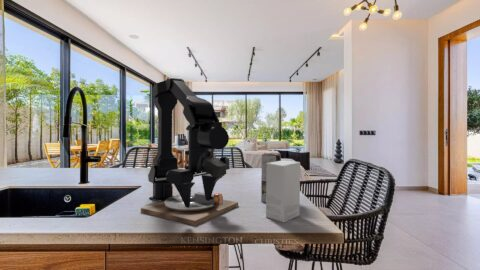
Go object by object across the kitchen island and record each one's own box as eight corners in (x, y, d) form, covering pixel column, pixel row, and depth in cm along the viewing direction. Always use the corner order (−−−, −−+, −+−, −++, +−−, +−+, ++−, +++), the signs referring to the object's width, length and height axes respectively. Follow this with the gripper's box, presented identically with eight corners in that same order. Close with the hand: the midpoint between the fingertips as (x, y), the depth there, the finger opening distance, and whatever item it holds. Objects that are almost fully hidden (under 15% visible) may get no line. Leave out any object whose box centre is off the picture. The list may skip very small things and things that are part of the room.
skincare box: (282, 211, 82) (283, 159, 81) (301, 216, 77) (302, 161, 77) (264, 217, 76) (265, 162, 75) (283, 223, 71) (284, 164, 71)
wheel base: (140, 212, 80) (140, 208, 80) (188, 197, 98) (188, 193, 98) (195, 225, 69) (195, 220, 69) (238, 205, 87) (238, 202, 87)
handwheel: (153, 206, 81) (153, 192, 81) (189, 195, 94) (189, 183, 94) (204, 217, 71) (204, 201, 71) (235, 202, 85) (235, 189, 85)
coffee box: (279, 203, 91) (280, 155, 90) (260, 202, 92) (261, 154, 92) (281, 196, 100) (281, 153, 99) (263, 195, 101) (264, 152, 100)
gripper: (198, 150, 62) (197, 218, 62) (241, 147, 78) (240, 201, 78) (165, 148, 68) (164, 210, 68) (211, 145, 84) (210, 195, 84)
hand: (198, 203), depth 74 cm, fingers open, 8 cm apart
